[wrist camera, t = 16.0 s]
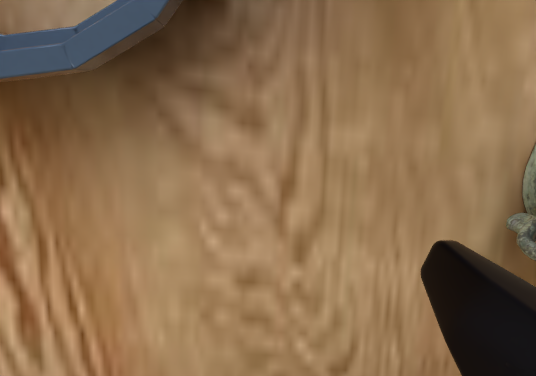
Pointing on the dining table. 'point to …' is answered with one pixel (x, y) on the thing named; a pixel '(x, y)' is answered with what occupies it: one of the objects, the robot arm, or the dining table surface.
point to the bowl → (82, 40)
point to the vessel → (531, 223)
